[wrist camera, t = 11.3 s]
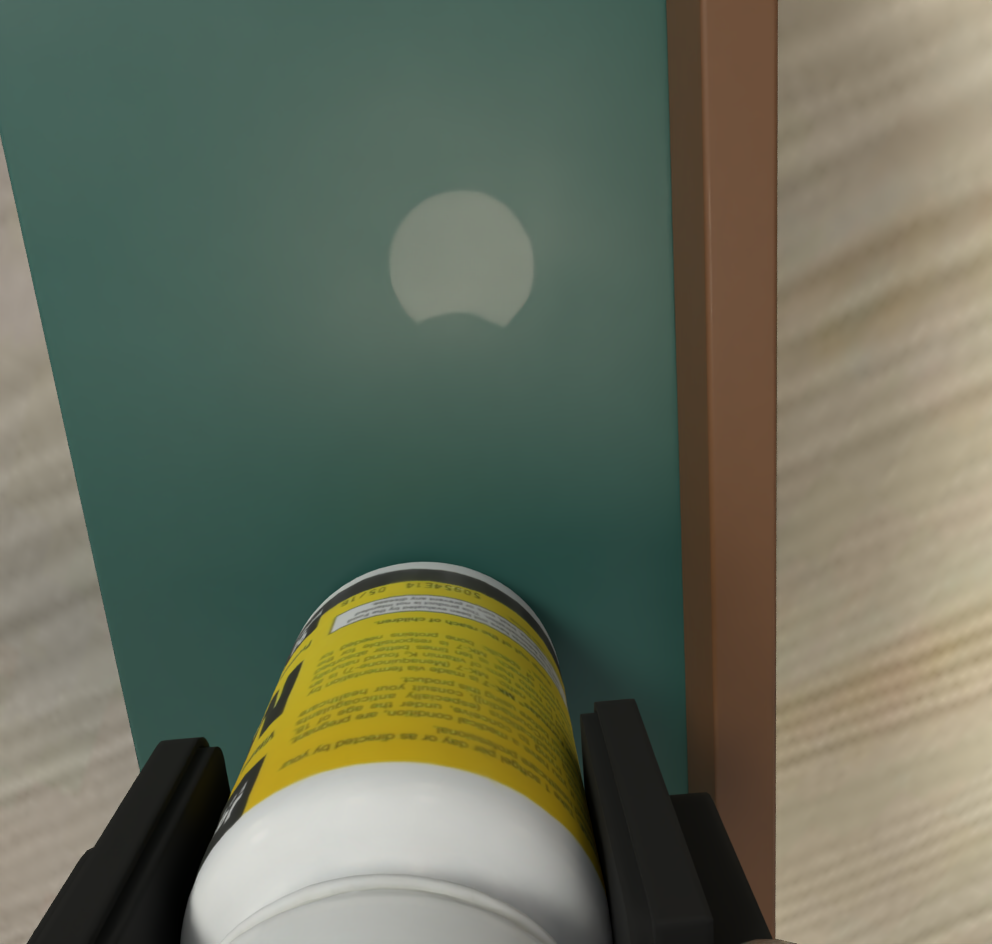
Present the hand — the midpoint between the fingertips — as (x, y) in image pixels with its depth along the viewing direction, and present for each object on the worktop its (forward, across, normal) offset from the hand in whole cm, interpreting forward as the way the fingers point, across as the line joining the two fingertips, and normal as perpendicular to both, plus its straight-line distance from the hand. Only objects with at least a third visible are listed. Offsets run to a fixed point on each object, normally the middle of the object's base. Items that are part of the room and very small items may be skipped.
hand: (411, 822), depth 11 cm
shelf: (+10, 0, -6) cm, 12 cm away
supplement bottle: (+4, 0, 0) cm, 4 cm away
